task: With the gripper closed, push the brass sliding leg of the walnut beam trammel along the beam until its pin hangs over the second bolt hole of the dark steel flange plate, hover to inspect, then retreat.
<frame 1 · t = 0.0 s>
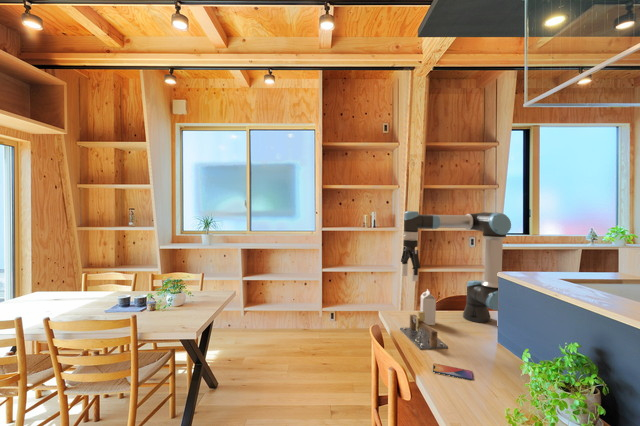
hand: (409, 278, 180), 28 cm above the table, fingers open, 13 cm apart
slider: (420, 323, 170), point 7 cm above the table, slide at -2.0 cm
milk carton: (427, 323, 191), on the table
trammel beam: (422, 338, 169), resting on flange plate
flange plate: (422, 338, 169), on the table
smartphone: (452, 373, 134), on the table
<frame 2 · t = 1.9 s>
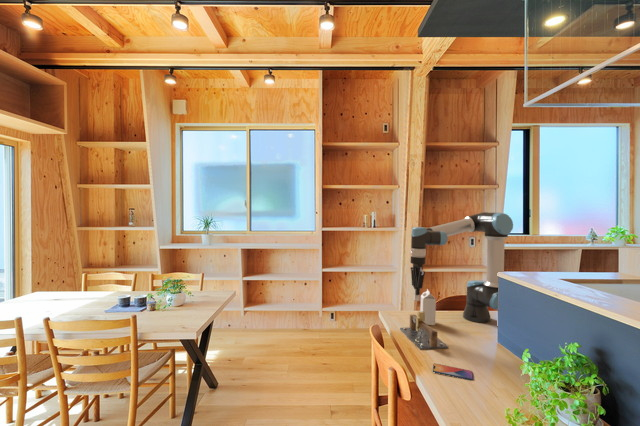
hand: (416, 300, 176), 17 cm above the table, fingers closed
nothing on the table moved.
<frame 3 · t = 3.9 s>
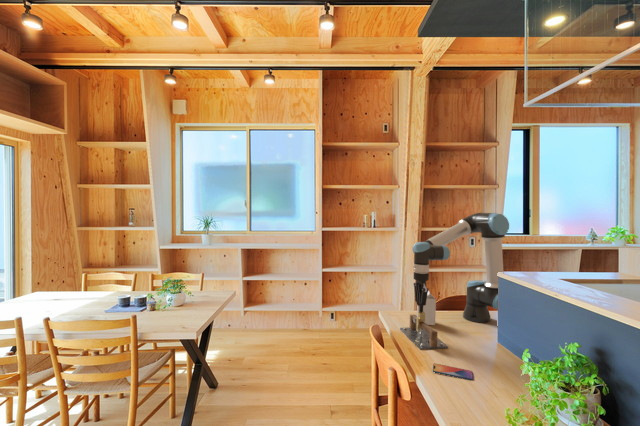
hand: (419, 317, 171), 10 cm above the table, fingers closed
slider: (420, 323, 170), point 7 cm above the table, slide at -1.5 cm, touching gripper
everything else where it was.
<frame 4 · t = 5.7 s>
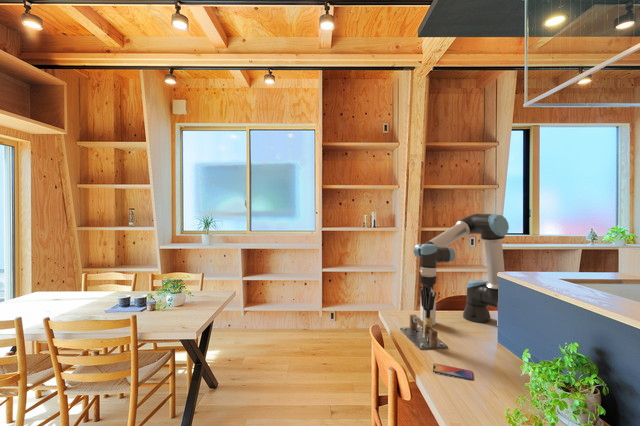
hand: (426, 322, 164), 10 cm above the table, fingers closed
slider: (427, 328, 162), point 7 cm above the table, slide at 6.2 cm, touching gripper
everything else where it was.
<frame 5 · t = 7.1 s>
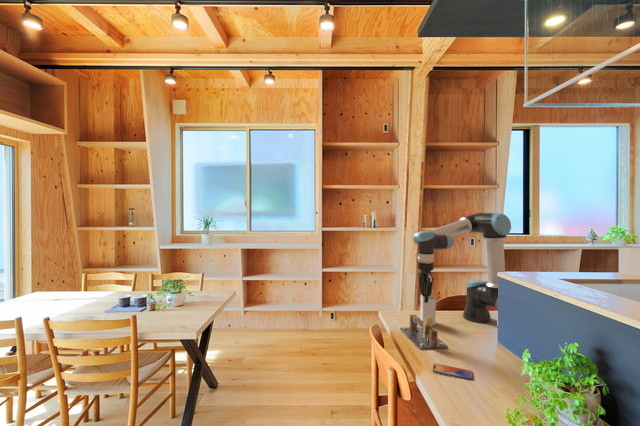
hand: (424, 308, 167), 16 cm above the table, fingers closed
slider: (427, 328, 162), point 7 cm above the table, slide at 6.2 cm
everything else where it was.
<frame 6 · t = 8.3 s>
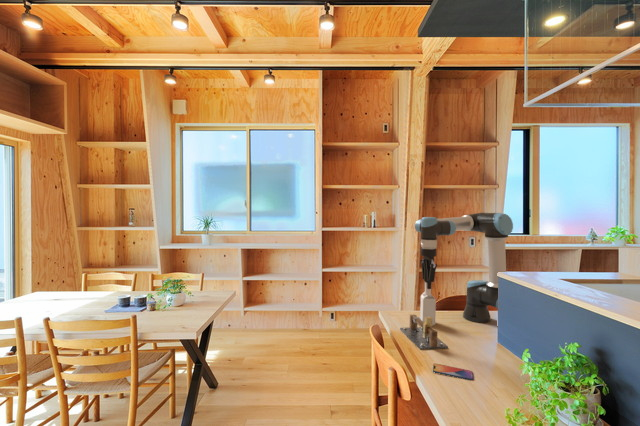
hand: (427, 294, 166), 23 cm above the table, fingers closed
nothing on the table moved.
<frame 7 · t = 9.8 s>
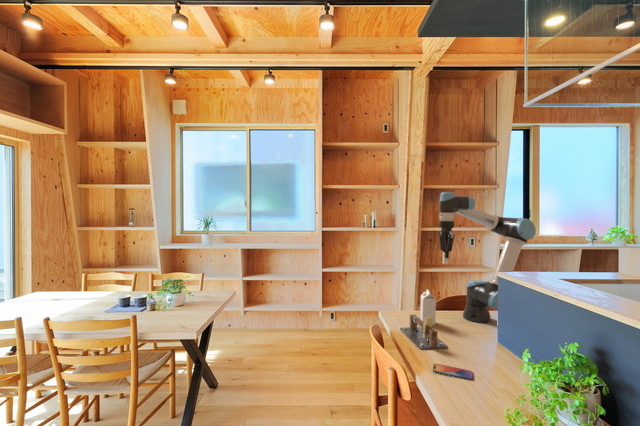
hand: (445, 263, 180), 36 cm above the table, fingers closed
nothing on the table moved.
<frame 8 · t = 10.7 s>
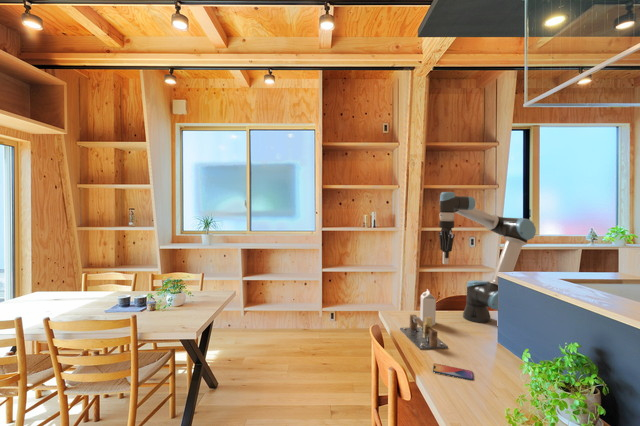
hand: (445, 263, 180), 36 cm above the table, fingers closed
nothing on the table moved.
at the end: slider slide at 6.2 cm; slider touching nothing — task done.
